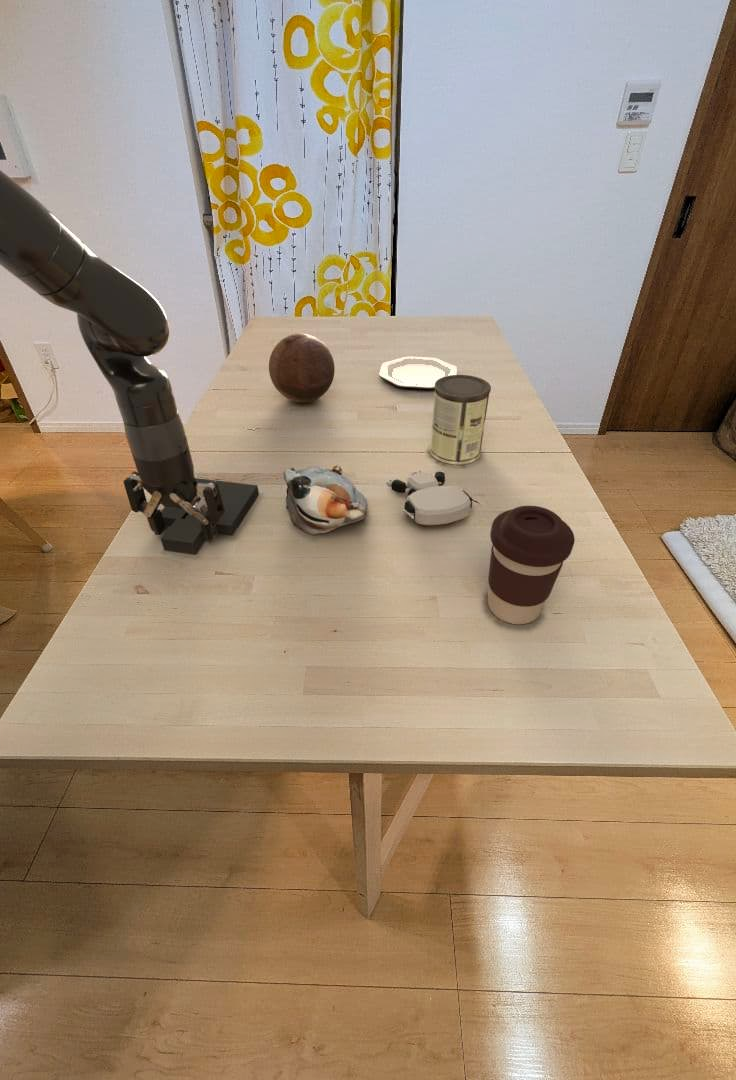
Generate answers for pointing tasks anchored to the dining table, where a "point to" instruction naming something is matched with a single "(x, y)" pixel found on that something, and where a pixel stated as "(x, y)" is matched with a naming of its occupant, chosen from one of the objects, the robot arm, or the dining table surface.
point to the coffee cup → (525, 561)
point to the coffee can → (459, 418)
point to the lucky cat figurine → (322, 499)
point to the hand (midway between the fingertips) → (185, 535)
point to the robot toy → (432, 498)
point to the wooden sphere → (301, 367)
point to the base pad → (234, 501)
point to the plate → (415, 373)
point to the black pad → (184, 536)
